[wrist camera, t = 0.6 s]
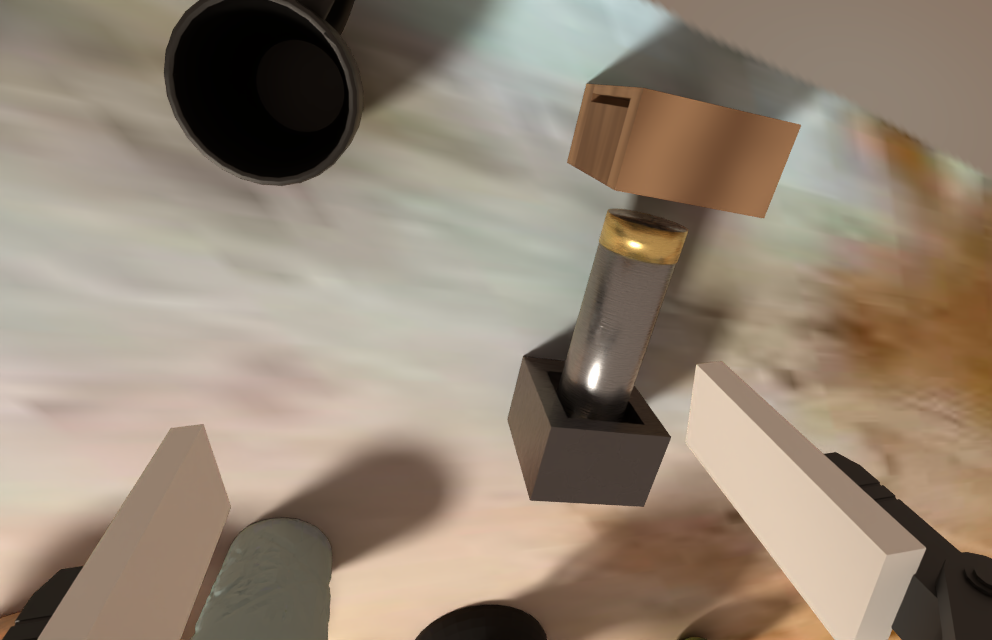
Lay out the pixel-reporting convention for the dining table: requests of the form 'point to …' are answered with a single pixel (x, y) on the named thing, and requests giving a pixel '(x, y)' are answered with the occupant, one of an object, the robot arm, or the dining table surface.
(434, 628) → the lantern
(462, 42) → the dining table surface
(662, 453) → the sleeve
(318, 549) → the grey green textured cup
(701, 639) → the fruit
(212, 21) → the mug
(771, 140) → the socket
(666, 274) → the tube
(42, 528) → the dining table surface
